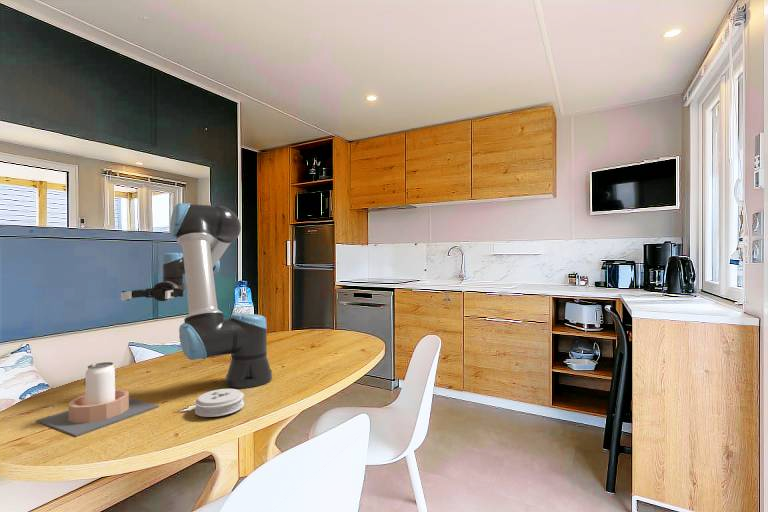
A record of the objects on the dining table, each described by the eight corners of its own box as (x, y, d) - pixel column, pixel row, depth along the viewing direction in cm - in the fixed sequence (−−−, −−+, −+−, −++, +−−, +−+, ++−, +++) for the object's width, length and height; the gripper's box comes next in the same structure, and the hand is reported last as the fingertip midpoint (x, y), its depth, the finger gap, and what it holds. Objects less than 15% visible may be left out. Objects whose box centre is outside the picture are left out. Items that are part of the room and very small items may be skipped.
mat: (158, 406, 107) (158, 405, 107) (76, 436, 89) (76, 435, 89) (118, 396, 116) (118, 395, 116) (36, 421, 98) (36, 420, 98)
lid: (193, 424, 96) (193, 404, 96) (196, 406, 107) (196, 389, 108) (245, 415, 101) (245, 396, 101) (243, 399, 113) (242, 382, 113)
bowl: (138, 407, 105) (138, 393, 105) (85, 426, 94) (85, 410, 94) (112, 400, 111) (112, 387, 111) (59, 417, 100) (59, 402, 100)
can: (120, 405, 105) (120, 362, 105) (96, 414, 98) (96, 369, 99) (104, 403, 107) (104, 361, 107) (79, 411, 101) (79, 367, 101)
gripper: (199, 299, 153) (184, 305, 132) (130, 301, 147) (103, 308, 126) (199, 281, 153) (184, 284, 132) (130, 282, 147) (103, 286, 126)
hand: (144, 295), depth 129 cm, fingers open, 13 cm apart
